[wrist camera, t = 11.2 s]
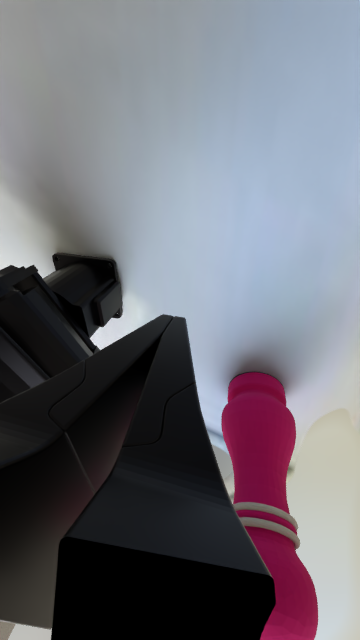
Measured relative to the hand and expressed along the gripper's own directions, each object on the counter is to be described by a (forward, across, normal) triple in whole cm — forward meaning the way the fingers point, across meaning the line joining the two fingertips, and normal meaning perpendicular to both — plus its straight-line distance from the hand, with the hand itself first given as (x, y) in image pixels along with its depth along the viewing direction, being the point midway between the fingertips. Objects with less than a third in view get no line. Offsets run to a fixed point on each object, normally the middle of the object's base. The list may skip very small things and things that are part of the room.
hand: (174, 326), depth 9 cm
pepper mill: (+13, -6, +18) cm, 23 cm away
